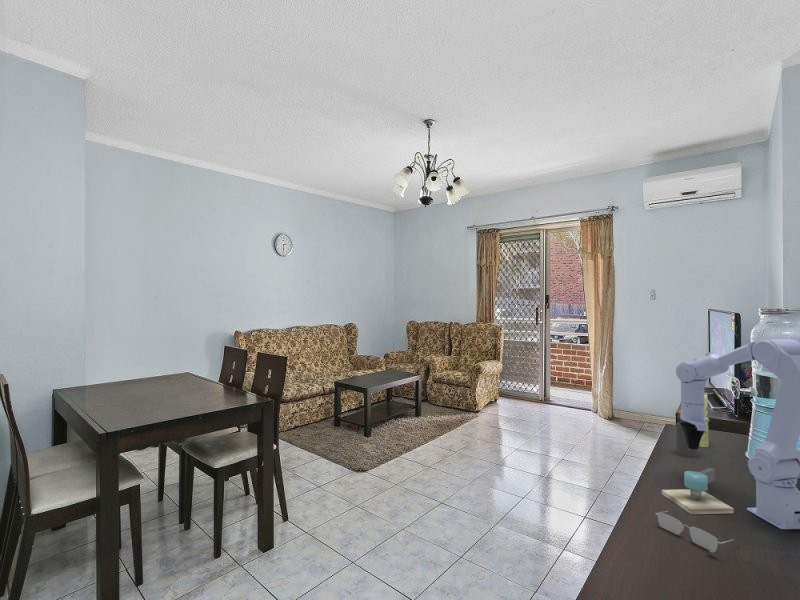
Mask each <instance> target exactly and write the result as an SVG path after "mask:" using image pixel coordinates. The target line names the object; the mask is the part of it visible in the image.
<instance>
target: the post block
mask: <svg viewBox="0 0 800 600" xmlns="http://www.w3.org/2000/svg"><path fill="white" fill-rule="evenodd" d="M661 495H662V496H663V497H664V498H667V499H668V500H669V501H671V502H672V503H673V504H675V505H677V506H678V507H680V509H682V510H684V511H686V512H687V513H688V514H690V515H714V514H715V515H717V514H719V515H720V514H722V515H723V514H734V512H735V510H734V507H732V506H730V505H728V504H727V503H725V502H723V501H722V500H720V499H718V498H716V497H715V496H714V495H711V494H710V493H708V492H707V491H696V490H692V489H689V488H687V489H685V488H684V489H683V488H682V489H661Z"/></svg>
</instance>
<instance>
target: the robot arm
mask: <svg viewBox="0 0 800 600" xmlns="http://www.w3.org/2000/svg"><path fill="white" fill-rule="evenodd" d="M747 361H756V362H758V364H760V366H762V367H764V368H765V369H767V370H768V371H769V372H771V373H772V374H773V375H774V376H776V377H777V379H779V380H780V384H779V388H778V390H777V391H778V392H777V395H776V400H775V402H774V407H773V410H772V414H771V418H770V422H769V426H768V429H767V433H766V436H765V440H764V441H763V442H761V444H759V445H758V446H757V447H755V450H754V453H753V455H751V456H750V457H749V459H748V460H747V466H748V469H749V472H750V473H751V474H752V476H753V478H754V480H755V491H756V492H755V494H756V495H755V496H756V498H755V500H756V501H755V502H756V503H755V504H756V505H755V507H746V511H748V512H750V513H752V514H754V515H755V516H757V517H759V518H760V519H762V520H763V521H766V522H767V523H770V524H771V525H773V526H775V527H777V528H778V529H780V530H800V490H799V489H798V488H797V486H796V485H797V482H798V481H797V480H798V479H799V478H800V451H799V450H798V449H797V445H798V441H799V438H800V339H798V338H795V337H794V338H793V337H789V338H775V339H774V338H770V339H769V338H761V339H758V340H755V341H750V342H748V343H746V344H744V345H742V346H739V347H736V348H735V349H733V350H731V351H727V352H725V353H723V354H720V353H716V352H707V353H705V356H702V357H699V358H693V359H692V360H691V362H683V361H682V362H680V363H679V364H678V365H677V366H676V368H675V375H676V376H677V379H678V380H680V408H681V409H680V410H681V416H680V418H681V420H684V421H686V423H682V422H681V423H680V425H681V427H682V429H683V431H684V433H685V437H686V441H687V445H688V448H690V449H697V450H698V449H699V444H700V440H701V437H702V435H703V434H704V432H705V431H706V424H705V422H708V423H709V422H710V419H709V417H708V418H705V412H704V393H705V388H706V386H707V381H708V380H709V378H713V377H715V376H718V375H722V374H724V373H727V372H728V370H729V369H730V366H734V365H737V364H740V363H744V362H747Z"/></svg>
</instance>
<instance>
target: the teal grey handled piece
mask: <svg viewBox="0 0 800 600" xmlns="http://www.w3.org/2000/svg"><path fill="white" fill-rule="evenodd" d="M683 473H684V475H683V476H684V477H683V480H684V481H683V482H684V486H685V488H687V489H692V490H696V491H705V492H707V491H708V490H709V489H708V487H709V485H708V484H709V483H712V482H714V481H715V480H716V469H715V468H713V467H707V468H704V469H703V470H701V471H696V470H695V471H694V470H686V471H684V472H683Z"/></svg>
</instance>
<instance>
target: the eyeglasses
mask: <svg viewBox="0 0 800 600" xmlns="http://www.w3.org/2000/svg"><path fill="white" fill-rule="evenodd" d="M667 512H668V513H669V512H670V510H665V511H661V512H660V511H658V512H656V513H654V514H655V515H656V516H657V521H658V522H657V523H658V524H659V527H660V528H662V529H664V530H665V531H668V532H671V533H672V534H674V535H677V536H680V534H681V533H682V532H683V531H684V530H685V527H687V528H688V529H689V535H690V538H691V540H692V542H693V543H694V544H696V545H698V546H700V547H702V548H704V549H705V550H707V552H709V553H715V552H716V551H717V549H718V545H722V544H725V543H729V542H733V541H735V540H736V541H737V544H738V545H740V542H739V539H738V538H736V537H735V538H733V539H729V540H726V541H721V542H720V541H718V538H717V536H714V535H712V534H711V533H709V532H707V531H705V530H703V529H701V528H698V527H695V526H690V527H689V526H688V525H686V524H683V523H682V522H681V521H680V520H679V519H678V518H676V517H677V514H676V513H675V512H674V511H673V510H671V512H672V513H673V514H674V515H675V516H676V517H673V516H671V515H669V514H666V513H667ZM684 526H685V527H684Z"/></svg>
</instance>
